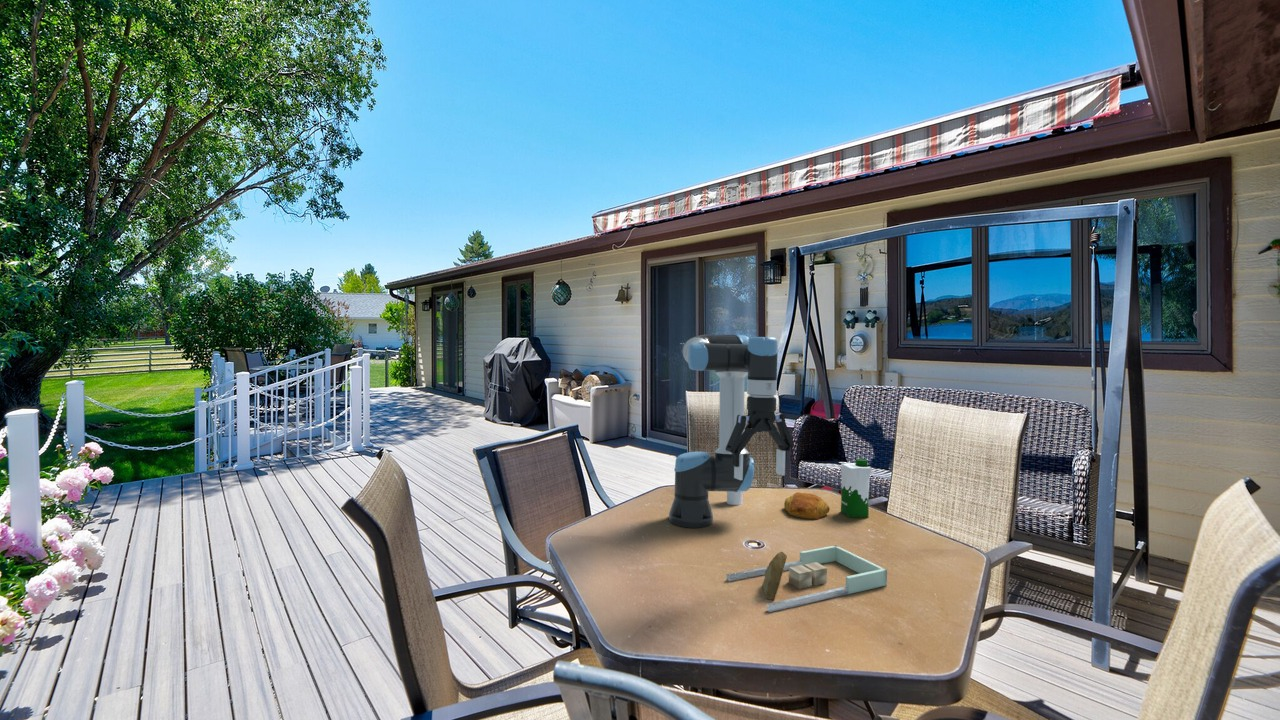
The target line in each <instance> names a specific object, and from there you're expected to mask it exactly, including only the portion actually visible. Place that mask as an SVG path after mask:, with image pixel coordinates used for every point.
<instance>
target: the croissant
mask: <svg viewBox="0 0 1280 720" xmlns="http://www.w3.org/2000/svg"><path fill="white" fill-rule="evenodd" d="M783 507H784V510H785V511H786V512H787V513H788V515H789V516H793V517H796V518H801V519H806V520H807V519H812V520H813V519H814V520H819V519H821V518H823V517H825V516H826V515H827V514H828V513H829V512H830V509H831V508H830V507H829V505H828V503H827V502H826V501H824V499H823V498H822V497H820V496H818V495H816V494H814V493H813V494H812V493H805V492H795V493H794V494H792V495H790V496H787V497H786V498H785V499H784V505H783Z"/></svg>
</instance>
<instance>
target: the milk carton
mask: <svg viewBox="0 0 1280 720" xmlns="http://www.w3.org/2000/svg"><path fill="white" fill-rule="evenodd" d="M868 464H869V463H868V459H866V458H856V459H855V462H853V463H852V462H848V463H840V465H841V466H840V467H841V492H840V497H841V498H840V512H841V513H842V514H844V515H846V516H847V517H848V518H850V519H851V518H857V519H858V518H869V513H870V511H869V507H870V506H869V504H870V503H869V501H870V499H869V497H870V477H871V473H872V467H870V466H869V465H868Z"/></svg>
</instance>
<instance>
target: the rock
mask: <svg viewBox="0 0 1280 720" xmlns="http://www.w3.org/2000/svg"><path fill="white" fill-rule="evenodd" d="M787 559H788V556H787V554H786V553H785V552H783V551H780V552H777V553H776V555H774V557H772V559H771V560H770V562H769V563H768V566H766V567H767V569H766V571H765V575H764V579H763V582H762V585H761V586H762V590H763V592H764V598H765V599H769V600H772V601H774V600H775V599H776V595H777V593H778V590H779V587H780V585H781V580H782V577H783V572H784V571H783V569H784V565H785V563H787Z"/></svg>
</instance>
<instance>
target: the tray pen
mask: <svg viewBox="0 0 1280 720" xmlns="http://www.w3.org/2000/svg"><path fill="white" fill-rule="evenodd" d="M799 561H801V562H802V566H804V564H809V563H815V562H817V563H819V564H821V565H822V564H826V563H831V562H837V563H838V564H841V565H842V566H845V567H847V568H848V569H850V570H852V571H854V572H856V573H857V574H852V575H848V576H846V577H845V586H846V587H847V588H849V592H848V594H847V595H850V594H855V593H858V592H860V593H861V592H863V591H867V590H871V589H873V590H874V589H876V588H880V587H885V586H887V585H888V584H887V583H888V581H887V580H888V569H885V568H884V567H882V566H880V565H878V564H875V563H873V562H872V561H870V560H867V559H865V558H863V557H861V556H858V555H857V554H855V553H853V552H850V551H849V550H847V549H845V548H842V547H840V546H838V545H830V546H825V547H819V548H814V549H808V550H803V551H799Z"/></svg>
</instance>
